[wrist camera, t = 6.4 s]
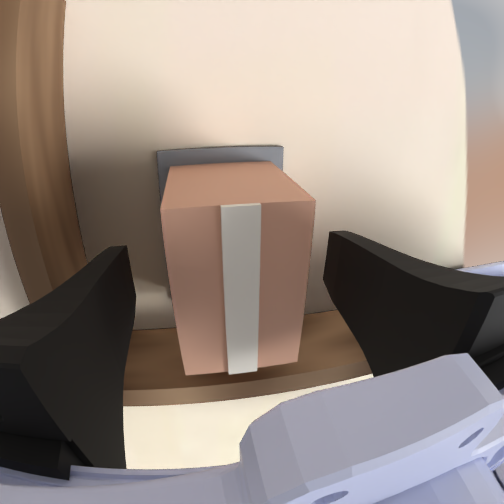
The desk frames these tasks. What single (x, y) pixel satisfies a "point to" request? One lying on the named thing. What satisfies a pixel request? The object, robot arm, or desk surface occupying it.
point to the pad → (215, 158)
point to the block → (236, 264)
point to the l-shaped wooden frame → (69, 237)
